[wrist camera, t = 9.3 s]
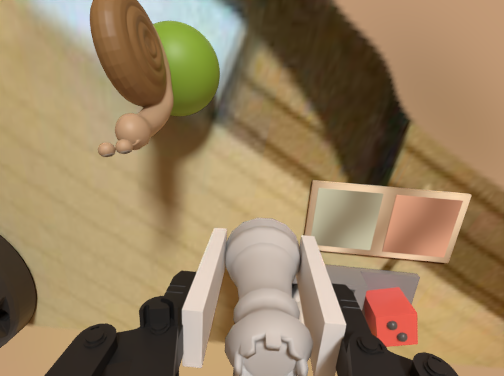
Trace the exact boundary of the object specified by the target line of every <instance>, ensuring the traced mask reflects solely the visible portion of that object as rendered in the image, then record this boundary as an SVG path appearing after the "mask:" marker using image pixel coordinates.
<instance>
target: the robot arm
mask: <svg viewBox="0 0 504 376" xmlns="http://www.w3.org/2000/svg"><path fill="white" fill-rule="evenodd" d="M226 240H227V229H223V228H214V230H213V232H212V235H211V237H210V240H209V242H208V245H207V247H206V250H205V252H204V255H203V258H202V260H201V263H200V265H199V268H198V270H197V272H190V271H180V272H179V273H178V274H177V275H175V276H174V277H173V279H172V281H171V283H170V286H169V287H168V289H167V291H166V293H165V295H164V296H159V297H154V298H152V299H149V300H147V301H146V302H145V303H144V304H143V305H142V306H141V308H140V310H139V315H140V327H139V328H137V329H134V330H129V331H124V332H118V333H116V329H115V328H114V327H113V326H112V325H109V324H97V325H94V326H90V327H89V328H87V329H85V330H83V331H82V332H81V333H80V334H79V335H78V336H77V337H76V338H75V339H74V340H73V341H72V343H71V344H70V345H69V346H68V348H67V349H66V350H65V351H64V352H63V354H62V355H61V356H60V357H59V359H58V360H57V361H56V362H55V363H54V365H53V366H52V367H51V368H50V370H49V371H48V372H47V373H46V374H45V376H179V366H180V363H181V360H182V363H183V366H187V367H198V368H202V365H203V361H204V356H205V352H206V348H207V343H208V339H209V335H210V331H211V326H212V322H213V318H214V314H215V309H216V305H217V301H218V297H219V292H220V288H221V284H222V280H223V275H224V271H225V256H226ZM299 252H300V255H301V258H300V265H299V271H298V273H297V275H296V279H297V285H298V290H299V296H300V302H301V307H302V313H303V319H304V324H305V326H306V327H307V328H308V329H309V331H310V334H311V337H312V340H313V348H312V353H311V357H310V359H311V364H312V370H313V376H335V373H336V371H337V375H338V376H458V375H457V373H456V372H455V371H454V370H453V368H452V367H451V366H450V365H449V364H448V363H446V362H445V361H444V360H442V359H441V358H439V357H437V356H435V355H433V354H429V353H418V354H416V355H415V356H414V358H413V360H411V359H408V358H405V357H402V356H399V355H397V354H394V353H392V352H390V351H388V350H387V348H386V346H385V345H384V343H383V342H382V341H381V340H380V339H379V338H377V337H376V336H374V335H372V333H371V330H370V328H369V326H368V324H367V322H366V320H365V317H364V315H363V313H362V311H361V309H360V306H359V304H358V302H357V300H356V298H355V296H354V293H353V292H352V291H351V290H350V289H349V288H348V287H347V286H346V285H344V284H333V283H331V281H330V278H329V275H328V273H327V270H326V267H325V264H324V262H323V259H322V256H321V253H320V251H319V248H318V245H317V242H316V240H315V237H314V236H305V235H301V241H300V248H299ZM35 303H36V294H35V288H34V284H33V280H32V277H31V275H30V273H29V271H28V269H27V267H26V265H25V263H24V262H23V260H22V259H21V257H20V256H19V255H18V253H17V252H16V251H15V250H14V249H13V247H12V246H11V245H10V244H9V243H8V242H7V241H6V240H5V239H4V238H2V237H1V236H0V348H1V347H2V346H3V345H5V344H6V343H7V342H8V341H9V340H10V339H11V338H13V337H14V336H15V335H16V334H17V333H18V332H19V331H20V330H21V329H23V328H24V327H25V326H26V325H27V323H28V322H29V321H30V319H31V317H32V315H33V313H34V309H35Z"/></svg>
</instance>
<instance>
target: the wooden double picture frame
mask: <svg viewBox="0 0 504 376" xmlns="http://www.w3.org/2000/svg"><path fill="white" fill-rule="evenodd" d="M470 198H471V195H470V194H465V193H454V192H442V191H431V190H420V189H408V188H397V187H385V186H374V185H362V184H351V183H340V182H328V181H317V180H312V187H311V194H310V200H309V207H308V214H307V221H306V227H305V234H304V235H305V236H314V237H315V240H316V242H317V245H318V248H319V250H320V251H330V252H340V253H350V254H360V255H371V256H381V257H391V258H401V259H411V260H421V261H432V262H442V263H448V262H449V259H450V256H451V253H452V250H453V248H454V245H455V242H456V239H457V236H458V233H459V230H460V227H461V224H462V221H463V219H464V216H465V213H466V210H467V207H468V204H469V201H470Z"/></svg>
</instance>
